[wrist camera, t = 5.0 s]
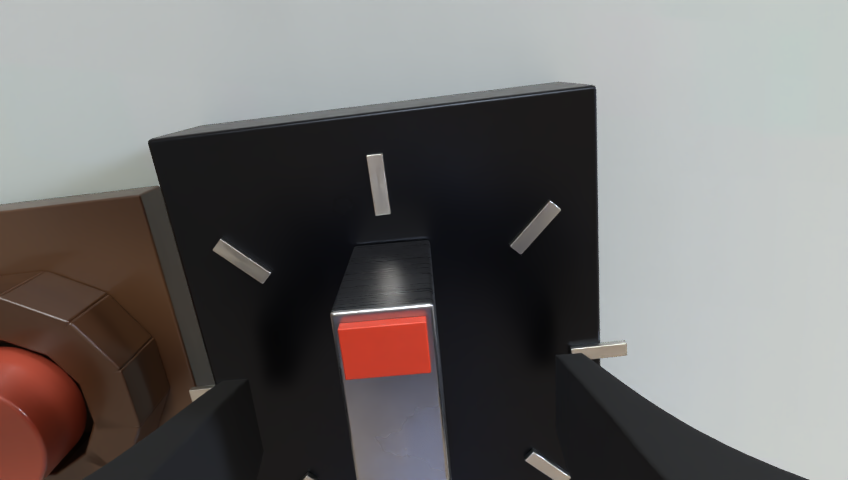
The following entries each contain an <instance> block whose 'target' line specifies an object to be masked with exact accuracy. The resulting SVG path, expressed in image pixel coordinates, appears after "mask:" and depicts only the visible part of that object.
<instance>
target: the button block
mask: <svg viewBox="0 0 848 480" xmlns="http://www.w3.org/2000/svg"><path fill="white" fill-rule="evenodd" d="M0 346H7V347H17V348H22V349H26V350H29V351H33V352H35V353H38V354H40V355H42V356H44V357H46V358H48V359H50V360H51V361H53V362H54V363H56V364H57V365H59V366H60V367H61V368H62V369H63V370H64V371H65V372H66V373H67V374H69V375H70V376H71V378H72V379H73V380H74V381H75V383H76V384H77V386H78V387H79V389H80V391H81V393H82V395H83V397H84V400H85V404H86V409H87V421H86V427H85V430H84V433H83V435H82V437H81V438H80V440H79V441H78V443H77V444H76V445H75V446H74V447H73V448H72V450H71V451H70V452H69V453H68V454H67V455H66V456H65V457H64V458H63V459H62V460H61V462H60V463H59V464H58V465H57V466H56V467H55V468H54V469H53V470H52V471H51V473H50V474H49V475H48V476H47V477H46V478H45V479H44V480H82V479H84V478H85V477H87V476H89V475H90V474H92V473H93V472H95V471H96V470H98V469H100V468H101V467H103V466H104V465H106V464H107V463H109V462H110V461H112V460H113V459H115V458H116V457H118V456H119V455H121V454H122V453H123V452H125V451H126V450H128V449H129V448H131V447H132V446H134V445H135V444H136V443H138V442H139V441H141V440H142V439H144V438H145V437H146V436H148V435H149V434H151V433H152V432H153V431H155V430H156V429H158V428H159V427H160V426H161V425H163V424H164V423H165V422H167V421H168V420H169V419H171V418H172V417H173V416H175V415H176V414H177V413H179V412H180V411H181V410H183V409H184V408H185V407H187V406H188V405H189V404H191V403H192V399H191V396H190V393H189V390H190V389H191V387H200V386H209V385H215V382H214V378H213V374H212V371H211V367H210V364H209V360H208V357H207V353H206V349H205V346H204V342H203V339H202V335H201V332H200V328H199V324H198V321H197V317H196V314H195V310H194V307H193V303H192V299H191V296H190V292H189V289H188V285H187V282H186V278H185V274H184V271H183V267H182V264H181V260H180V257H179V253H178V249H177V246H176V242H175V239H174V235H173V232H172V228H171V224H170V221H169V217H168V214H167V210H166V207H165V203H164V199H163V196H162V192H161V189H160V187H159V186H152V187H144V188H135V189H127V190H119V191H110V192H102V193H93V194H85V195H77V196H68V197H60V198H52V199H43V200H35V201H26V202H18V203H10V204H1V205H0Z"/></svg>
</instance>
